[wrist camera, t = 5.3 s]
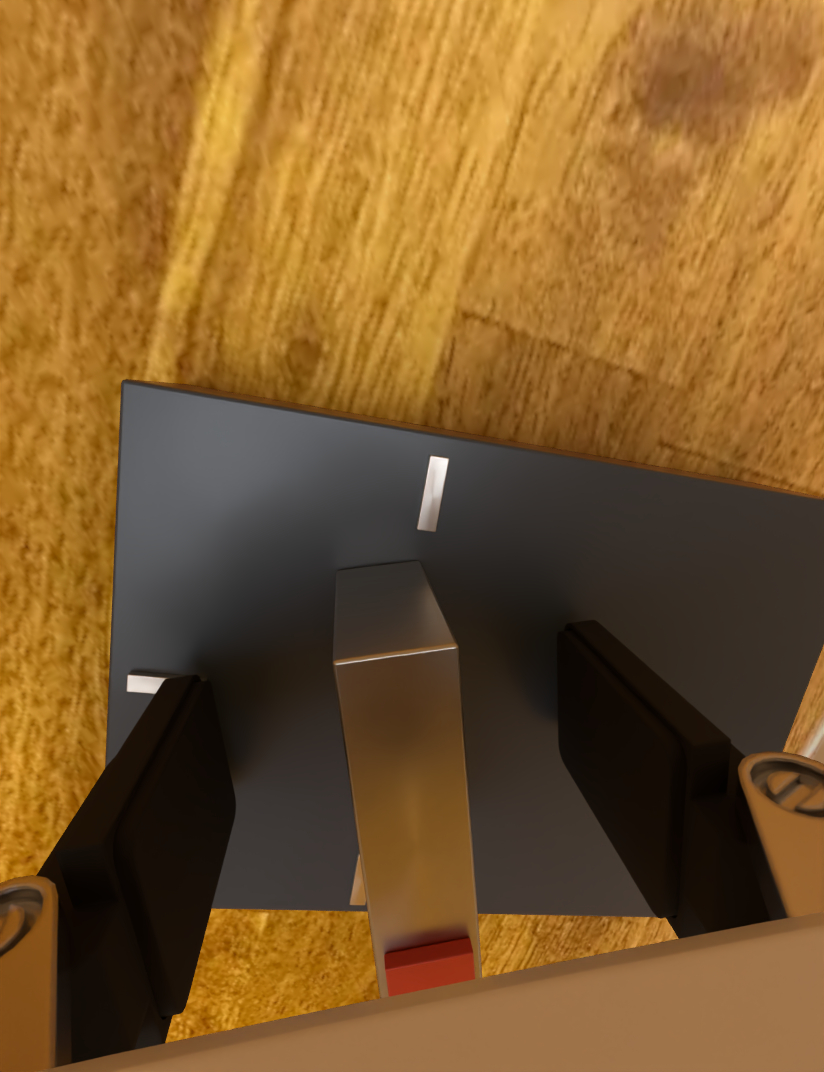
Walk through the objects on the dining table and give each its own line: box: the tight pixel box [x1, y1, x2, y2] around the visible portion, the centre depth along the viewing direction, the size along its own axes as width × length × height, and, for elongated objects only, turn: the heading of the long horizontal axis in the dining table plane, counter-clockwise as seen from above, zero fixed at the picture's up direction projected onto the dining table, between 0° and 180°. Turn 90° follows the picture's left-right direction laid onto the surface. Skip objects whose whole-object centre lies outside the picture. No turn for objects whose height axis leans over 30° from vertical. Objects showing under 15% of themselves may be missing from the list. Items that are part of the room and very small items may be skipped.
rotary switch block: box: [105, 379, 824, 917], centre depth 13 cm, size 15×11×4 cm
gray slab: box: [332, 561, 482, 999], centre depth 9 cm, size 6×2×4 cm, turn 5°
